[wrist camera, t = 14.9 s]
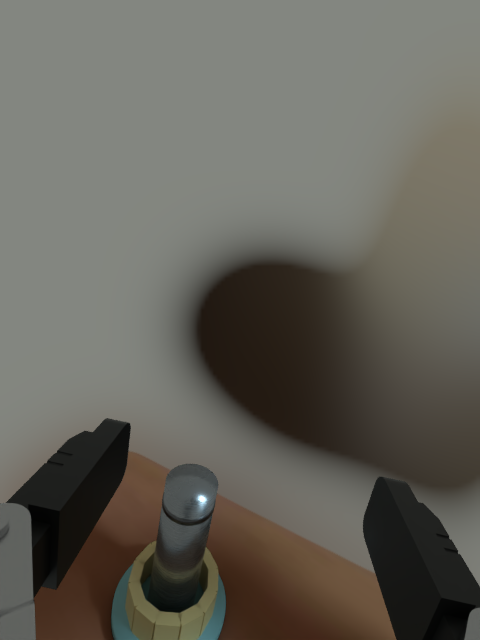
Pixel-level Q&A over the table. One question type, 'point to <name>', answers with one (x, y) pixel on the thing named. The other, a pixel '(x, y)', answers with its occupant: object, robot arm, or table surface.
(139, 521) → the table surface
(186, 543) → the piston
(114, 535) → the table surface
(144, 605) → the ring collar
